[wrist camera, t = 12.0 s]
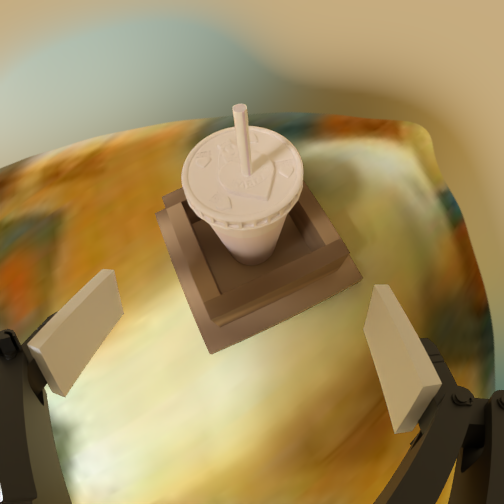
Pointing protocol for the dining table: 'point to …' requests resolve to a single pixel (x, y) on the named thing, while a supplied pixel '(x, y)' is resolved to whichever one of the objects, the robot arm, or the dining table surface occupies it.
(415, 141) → the dining table surface
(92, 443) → the dining table surface
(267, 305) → the box
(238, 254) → the smoothie
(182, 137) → the dining table surface
